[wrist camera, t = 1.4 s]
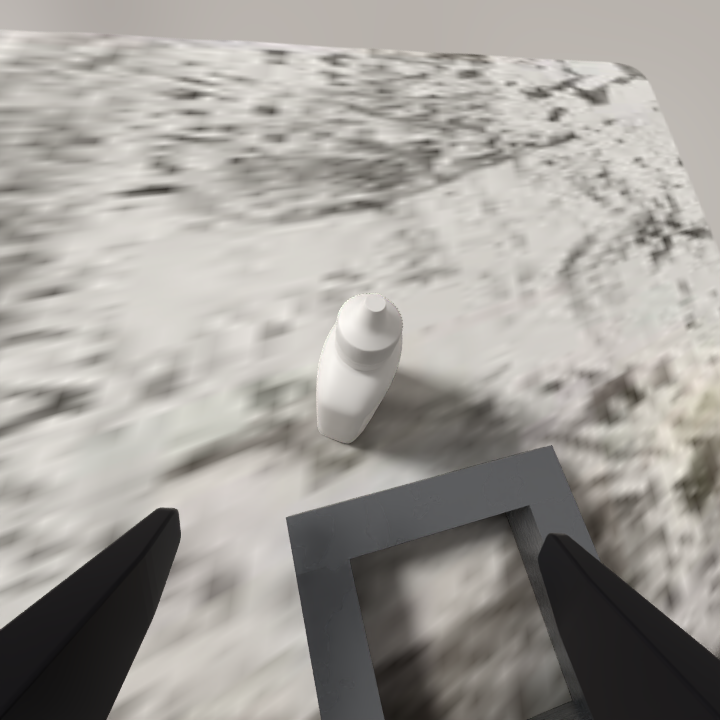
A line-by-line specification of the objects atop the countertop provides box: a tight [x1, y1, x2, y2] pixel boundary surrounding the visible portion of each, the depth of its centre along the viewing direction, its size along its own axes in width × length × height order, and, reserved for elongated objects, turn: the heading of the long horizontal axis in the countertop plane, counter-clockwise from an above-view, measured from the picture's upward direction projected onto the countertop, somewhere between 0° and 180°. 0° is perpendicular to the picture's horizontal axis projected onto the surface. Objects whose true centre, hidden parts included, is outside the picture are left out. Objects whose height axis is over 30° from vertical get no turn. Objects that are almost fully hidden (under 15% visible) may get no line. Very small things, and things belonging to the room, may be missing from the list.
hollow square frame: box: [286, 445, 601, 720], centre depth 18 cm, size 14×14×3 cm
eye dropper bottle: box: [316, 293, 403, 443], centre depth 18 cm, size 4×6×12 cm
